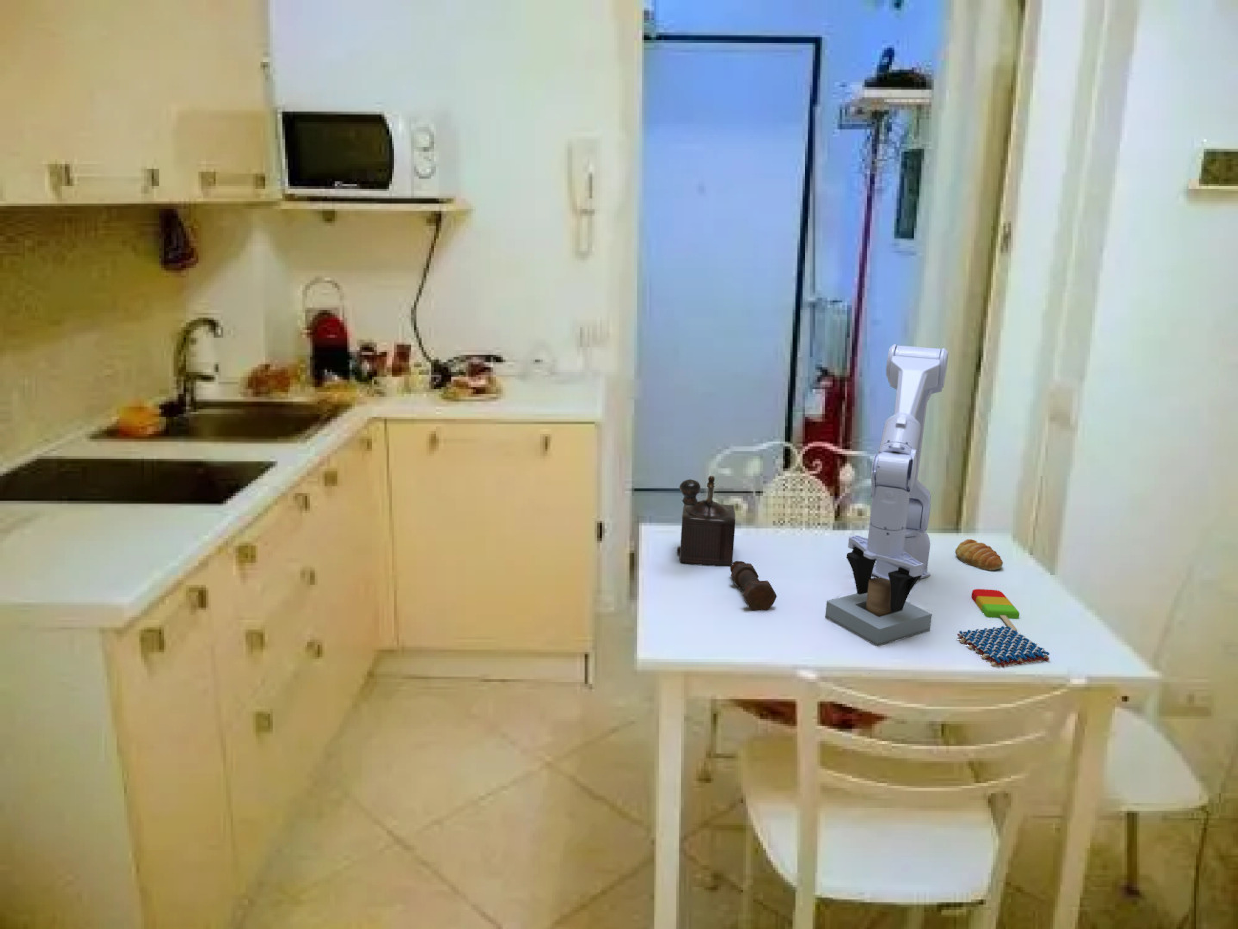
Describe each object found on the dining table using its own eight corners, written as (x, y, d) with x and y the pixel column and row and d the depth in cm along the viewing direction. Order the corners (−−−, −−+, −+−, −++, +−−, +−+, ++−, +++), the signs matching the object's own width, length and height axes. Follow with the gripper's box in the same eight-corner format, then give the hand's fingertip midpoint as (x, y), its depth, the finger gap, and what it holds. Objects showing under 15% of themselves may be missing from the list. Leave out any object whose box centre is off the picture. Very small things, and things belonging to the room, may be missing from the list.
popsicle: (999, 599, 165) (1001, 589, 164) (1030, 636, 150) (1032, 626, 150) (968, 597, 165) (970, 587, 164) (996, 634, 150) (998, 624, 150)
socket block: (876, 603, 160) (877, 587, 159) (929, 630, 150) (932, 614, 149) (825, 617, 154) (826, 601, 153) (877, 646, 144) (879, 629, 143)
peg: (875, 614, 155) (879, 575, 153) (894, 622, 152) (898, 583, 150) (859, 619, 153) (863, 580, 151) (878, 628, 149) (882, 589, 147)
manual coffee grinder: (677, 544, 186) (681, 460, 181) (732, 547, 185) (737, 462, 180) (675, 573, 171) (678, 482, 166) (734, 577, 170) (739, 485, 165)
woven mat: (1006, 634, 151) (1008, 623, 150) (1051, 664, 141) (1053, 652, 140) (952, 640, 148) (953, 629, 148) (994, 671, 138) (996, 659, 138)
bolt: (740, 586, 171) (764, 618, 157) (718, 574, 170) (740, 605, 155) (757, 560, 170) (782, 590, 156) (735, 548, 169) (758, 577, 155)
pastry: (1011, 570, 177) (1013, 552, 176) (984, 575, 175) (986, 556, 174) (976, 553, 186) (978, 536, 185) (950, 557, 183) (952, 540, 182)
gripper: (837, 515, 151) (830, 590, 155) (904, 542, 139) (895, 623, 143) (868, 508, 155) (861, 582, 159) (936, 535, 143) (926, 614, 147)
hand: (879, 601), depth 151 cm, fingers open, 7 cm apart
